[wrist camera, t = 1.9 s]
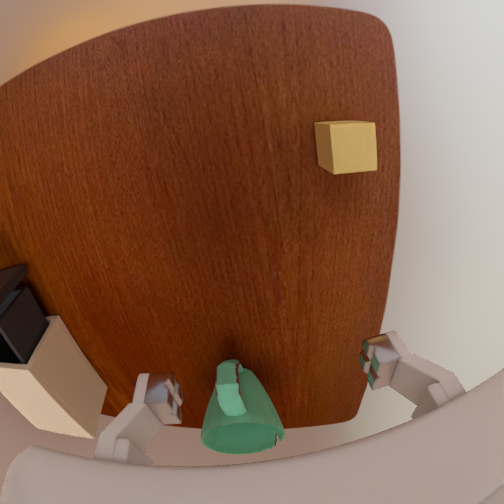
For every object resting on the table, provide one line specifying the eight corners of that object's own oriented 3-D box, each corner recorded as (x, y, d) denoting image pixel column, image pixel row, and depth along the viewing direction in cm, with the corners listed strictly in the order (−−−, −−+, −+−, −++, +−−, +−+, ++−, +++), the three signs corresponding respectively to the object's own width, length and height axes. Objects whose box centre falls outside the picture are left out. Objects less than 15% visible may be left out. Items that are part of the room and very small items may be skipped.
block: (313, 122, 23) (329, 124, 19) (354, 120, 23) (375, 122, 19) (318, 165, 25) (333, 174, 21) (357, 161, 25) (377, 170, 21)
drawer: (-32, 248, 22) (-66, 279, 16) (10, 230, 23) (-31, 265, 16) (24, 350, 31) (4, 387, 24) (72, 350, 31) (53, 394, 24)
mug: (275, 391, 39) (286, 448, 30) (211, 400, 39) (212, 457, 30) (264, 321, 32) (279, 391, 23) (182, 334, 32) (174, 404, 23)
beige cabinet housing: (6, 319, 29) (-23, 364, 20) (59, 315, 29) (28, 370, 21) (53, 384, 36) (37, 428, 27) (107, 387, 36) (94, 439, 28)
